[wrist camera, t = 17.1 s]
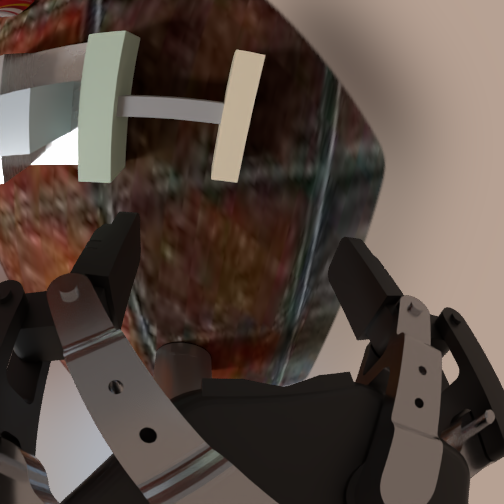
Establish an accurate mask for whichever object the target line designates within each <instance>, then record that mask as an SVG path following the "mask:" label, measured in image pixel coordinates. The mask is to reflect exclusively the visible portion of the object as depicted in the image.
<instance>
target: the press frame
mask: <svg viewBox="0 0 504 504" xmlns="http://www.w3.org/2000/svg"><path fill="white" fill-rule="evenodd" d="M86 48H87V43H81V44H75V45H69V46H64V47H59V48H54V49H49V50H45V51H41V52H37V53H18V54H4V55H2V56H0V95H3V94H7V93H10V92H14V91H19V90H23V89H28V88H33V87H38V86H44V85H50V84H56V83H63V82H71V81H74V88H73V99H72V114H71V132H70V133H68V134H66V135H64V136H62V137H60V138H58V139H56V140H54V141H52V142H50V143H48V144H47V145H45V146H43V147H41V148H39V149H38V150H36V151H34V152H33V153H31V154H23V155H9V156H0V184H4V183H6V182H7V181H8V180H10V179H11V178H12V177H14V176H15V175H16V174H18V173H19V172H21V171H22V170H24V169H25V168H27V167H28V166H29V165H31V164H78V115H79V100H80V89H81V80H82V72H83V65H84V59H85V53H86Z"/></svg>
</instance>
